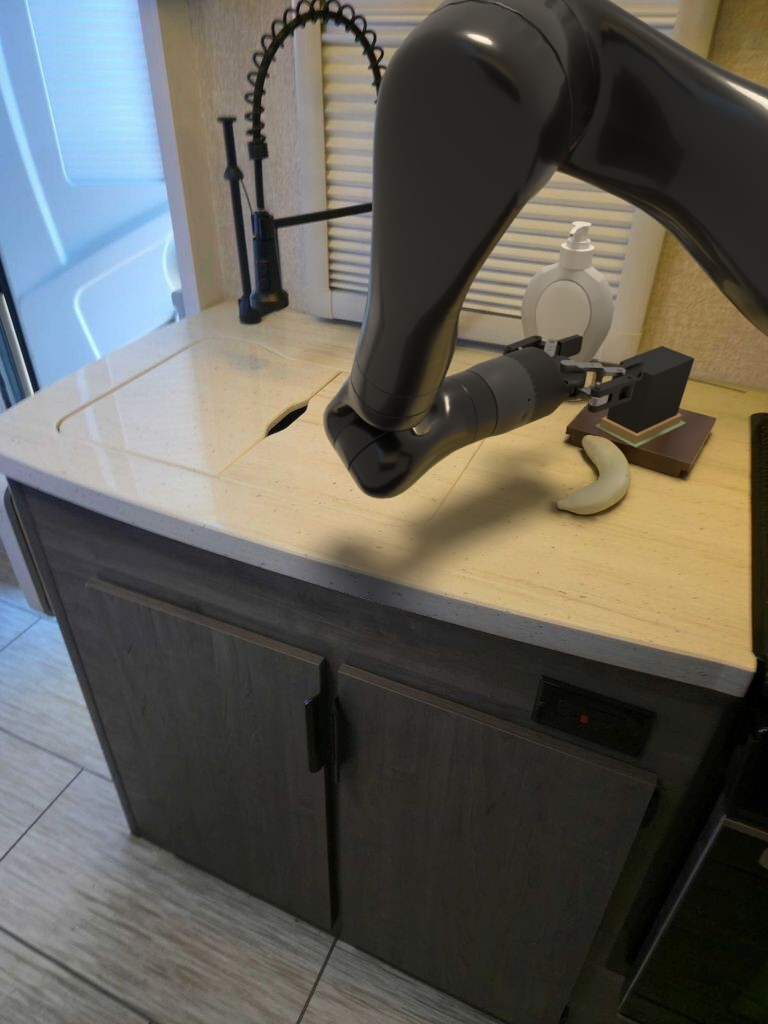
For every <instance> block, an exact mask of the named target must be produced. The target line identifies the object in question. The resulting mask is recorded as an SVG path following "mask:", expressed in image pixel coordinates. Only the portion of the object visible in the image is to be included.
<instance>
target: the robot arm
mask: <svg viewBox="0 0 768 1024" xmlns="http://www.w3.org/2000/svg"><path fill="white" fill-rule="evenodd" d="M373 123H374V124H373V136H372V137H373V138H372V171H371V172H372V173H371V174H372V178H371V179H372V185H371V186H372V188H371V189H372V190H371V191H372V194H371V196H372V197H371V198H372V199H371V208H372V209H371V233H370V234H371V235H370V253H369V254H370V257H369V275H368V285H367V293H366V301H365V309H364V313H363V318H362V323H361V327H360V332H359V336H358V339H357V344H356V348H355V352H354V357H353V361H352V365H351V370H350V374H349V376H348V377H347V379H346V380H344V382H343V384H342V385H341V387H340V388H339V390H338V391H337V392H336V394H335V395H334V396H333V397H332V399H330V401H329V402H328V404H327V405H326V407H324V412H323V416H322V421H323V422H322V424H323V429H324V433H325V436H326V438H327V440H328V442H329V443H330V445H331V447H332V449H333V450H334V451H335V453H336V454H337V456H338V458H339V459H340V461H341V462H342V464H343V465H344V467H345V468H346V470H347V472H348V474H349V475H350V477H351V478H352V480H353V482H354V483H355V484H356V486H357V488H358V489H359V490H360V491H361V492H362V494H364V495H365V496H368V497H370V498H373V499H378V500H379V499H380V500H386V499H387V500H388V499H392V498H395V497H398V496H400V495H402V494H404V493H405V492H406V491H407V490H409V489H410V488H411V487H412V486H414V485H415V484H416V483H417V482H418V481H419V480H420V479H421V478H422V477H424V476H425V474H427V473H428V472H430V470H431V469H433V468H434V467H435V466H436V465H437V464H439V463H441V462H442V461H443V460H445V459H446V458H447V457H449V456H451V455H452V454H453V453H455V452H457V451H458V450H460V449H464V448H465V447H469V446H470V445H474V444H476V443H478V442H481V441H483V440H485V439H489V438H492V437H496V436H497V437H498V436H500V435H501V436H502V435H504V434H506V433H509V432H511V431H514V430H517V429H519V428H522V427H524V426H526V425H529V424H531V423H533V422H536V421H539V420H541V419H544V418H546V417H549V416H550V415H552V414H554V413H555V411H556V410H557V409H558V408H559V407H560V406H561V405H562V404H563V403H564V402H566V401H567V400H576V399H579V398H580V399H582V400H581V401H584V402H586V403H587V404H588V406H587V410H588V411H589V412H592V413H596V412H599V411H602V410H605V409H608V408H610V407H613V406H616V405H619V404H621V403H624V402H627V401H630V400H631V397H632V393H633V389H634V385H635V382H637V381H640V380H641V378H642V374H643V370H644V367H645V366H644V361H642V360H639V359H636V360H633V361H631V362H628V363H625V364H623V365H620V364H619V365H620V366H619V365H618V366H603V365H602V363H601V362H589V363H586V362H575V361H574V360H571V359H569V358H568V357H571V356H574V355H577V354H579V352H580V351H581V346H582V341H583V337H582V336H580V335H573V336H570V337H566V338H563V339H560V340H555V339H548V340H547V342H545V341H542V337H541V336H538V335H534V336H531V337H528V338H526V339H525V338H524V339H521V340H518V341H515V342H513V343H510V344H507V345H504V346H503V351H502V355H499V356H496V357H494V358H491V359H488V360H484V361H481V362H478V363H476V364H474V365H472V366H471V367H469V368H467V369H465V370H462V371H459V372H457V373H453V374H451V375H448V376H447V374H448V371H449V369H450V367H451V364H452V361H453V359H454V354H455V352H456V348H457V344H458V338H459V330H460V329H459V328H460V327H459V326H460V317H461V311H462V308H463V305H464V302H465V300H466V298H467V295H468V293H469V291H470V289H471V286H473V285H472V284H473V283H474V281H475V279H476V277H477V276H478V274H479V273H480V270H481V269H482V267H483V266H484V264H485V263H486V262H487V260H488V258H489V257H490V255H491V254H492V252H493V251H494V250H495V248H496V247H497V245H498V243H500V241H501V239H502V238H503V237H504V235H505V234H506V232H507V231H508V229H510V227H511V225H512V224H513V222H514V221H515V219H516V218H517V217H518V216H519V214H520V213H521V212H522V210H524V208H525V206H526V205H527V204H528V203H529V202H530V201H531V200H533V199H534V198H535V197H536V196H537V195H538V194H539V193H540V192H541V191H542V190H543V189H544V188H545V187H546V186H547V184H548V183H549V182H550V180H551V179H552V178H553V176H554V175H555V173H557V172H558V173H560V174H564V175H566V176H569V177H571V178H574V179H577V180H579V181H581V182H584V183H586V184H588V185H590V186H592V187H594V188H597V189H599V190H601V191H603V192H605V193H608V194H610V195H611V196H614V197H616V198H618V199H620V200H622V201H624V202H626V203H628V204H630V205H632V206H633V207H634V208H636V209H638V210H640V211H641V212H643V213H644V214H646V215H647V216H648V217H650V218H651V219H653V220H654V221H655V222H656V223H657V224H659V225H660V226H661V227H662V228H663V229H665V230H666V231H667V232H668V233H669V234H670V235H671V236H672V237H673V238H674V239H675V240H676V241H677V242H678V244H679V245H680V246H681V247H682V248H683V249H684V250H685V251H686V252H687V254H688V255H689V256H690V258H691V259H692V260H693V261H694V262H695V264H696V265H698V267H699V268H700V270H702V272H703V273H704V274H705V276H707V277H708V279H709V280H710V281H711V282H712V283H713V285H714V286H715V287H716V288H717V289H718V290H719V291H720V293H721V294H722V295H723V296H724V297H725V298H726V299H727V300H728V301H729V302H730V303H731V304H732V305H733V306H734V307H735V309H736V310H737V311H738V312H739V313H740V314H741V315H742V316H743V317H744V318H745V319H746V320H747V321H748V322H749V323H750V324H751V325H752V326H754V328H756V329H757V330H758V331H759V332H761V334H763V335H764V336H766V337H767V338H768V87H766V86H763V85H761V84H759V83H757V82H755V81H752V80H750V79H747V78H745V77H742V76H740V75H738V74H736V73H734V72H732V71H730V70H728V69H727V68H724V67H722V66H720V65H718V64H716V63H714V62H713V61H711V60H710V59H707V58H706V57H704V56H702V55H700V54H698V53H697V52H696V51H693V50H691V48H690V49H689V48H688V47H686V46H685V45H683V44H681V43H679V42H678V41H676V40H675V39H673V38H672V37H670V36H668V35H666V34H665V33H663V32H661V31H660V30H658V29H657V28H655V27H653V26H652V25H650V24H648V23H647V22H645V21H644V20H642V19H640V18H638V17H637V16H635V15H634V14H632V13H631V12H629V11H628V10H626V9H625V8H623V7H621V6H620V5H618V4H616V3H615V2H613V1H611V0H443V1H442V2H441V3H440V4H439V5H438V6H437V7H436V8H435V9H434V10H432V11H431V13H430V14H428V16H426V17H425V18H424V19H423V20H421V22H419V23H418V24H417V25H416V26H415V27H414V28H413V29H412V30H411V31H410V33H408V35H407V36H406V37H405V39H404V40H403V41H402V42H401V43H400V44H399V46H398V47H397V48H396V50H395V51H394V52H393V55H392V56H391V57H390V60H389V62H388V64H387V66H386V68H385V70H384V72H383V75H382V77H381V80H380V83H379V87H378V92H377V98H376V105H375V111H374V122H373ZM588 373H592V377H591V381H590V385H589V386H587V387H586V381H587V376H588ZM604 377H611V379H610V380H607V381H604V382H603V378H604ZM567 402H568V401H567Z"/></svg>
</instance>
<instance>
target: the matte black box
mask: <svg viewBox="0 0 768 1024" xmlns="http://www.w3.org/2000/svg"><path fill="white" fill-rule="evenodd" d="M636 359H639V360H642V361H644V366H645V367H644V370H643V374H642V378H641V380H640V381H637V382H635V385H634V389H633V393H632V397H631V400H630V401H627V402H624V403H621V404H619V405H616V406H613V407H610V408H609V411H608V415H607V416H606V417H604V418H602V419H601V424H600V426H601V427H603V428H605V429H607V430H609V431H611V432H612V433H614V434H616V435H618V436H620V437H622V438H624V439H626V440H628V441H630V442H632V443H634V444H636V443H638V442H640V441H642V440H644V439H646V438H648V437H650V436H652V435H654V434H656V433H659V432H661V431H663V430H665V429H667V428H669V427H671V426H673V425H675V424H677V423H679V422H680V419H681V416H682V415H681V414H679V413H678V410H679V408H681V403H682V400H683V397H684V393H685V391H686V387H687V385H688V381H689V377H690V375H691V373H692V369H693V365H694V362H695V357H692V356H690V355H687V354H684V353H682V352H680V351H676V350H674V349H671V348H669V347H666V346H665V345H659V346H658V347H656V348H655V347H654V348H653V349H650V350H647V351H645V352H642V353H639V354H637V355H634V356H631V357H629V358H626V359H624V360H623V359H622V360H621V361H620V362H619V365H618V366H620V365H623V364H625V363H628V362H631V361H633V360H636Z"/></svg>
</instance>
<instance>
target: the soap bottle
mask: <svg viewBox="0 0 768 1024" xmlns="http://www.w3.org/2000/svg"><path fill="white" fill-rule="evenodd" d="M571 225H572V229H571V231H570V232H569V234H568V236H569V237H567V239H566V242H563V243H561V245H560V249H559V256H558V261H557V262H555V263H552V264H549V265H546V266H543V267H541V268H540V269H539V270H538V271H537V272H536V273H535V274H534V275H533V276H531V279H530V281H529V283H528V285H527V287H526V290H525V291H524V295H523V299H522V302H521V308H520V309H521V310H520V317H521V326H522V331H523V336H524V339H526V338H528V337H531V336H534V335H538V336H541V337H542V341H545V342H547V340H548V339H555V340H560V339H563V338H566V337H570V336H573V335H580V336H582V337H583V341H582V346H581V351H580V352H579V354H577V355H574V356H571V357H568V358H569V359H571V360H574V361H575V362H586V363H591V361H592V360H593V358H594V357H595V356H596V354H597V353H598V352H599V350H600V348H601V346H602V345H603V343H604V342H605V340H606V338H607V336H608V334H609V333H610V330H611V327H612V323H613V318H614V298H613V290H612V287H611V286H610V284H609V282H608V279H607V277H606V276H605V275H604V274H603V273H601V272H600V271H599V270H597V268H595V267H594V266H592V262H593V257H594V252H595V246H594V245H592V244H591V239H590V238H589V237H588V236H589V232H590V231H589V230H590V227H591V226H592V223H591V222H587V221H580V220H579V221H573V222H572V223H571ZM578 401H583V400H582V399H580V398H579V399H576V400H567V402H578Z"/></svg>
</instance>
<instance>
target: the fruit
mask: <svg viewBox="0 0 768 1024" xmlns="http://www.w3.org/2000/svg"><path fill="white" fill-rule="evenodd" d="M582 445H583V447H582V448H583V450H584V452H585V454H586V455H587V457H588V458H589V459H590V460H591V462H592V463H593V464H594V465H595V467H596V468H597V471H598V473H599V475H598V478H597V479H596V480H595V481H594V482H592V483H590V484H588V485H587V486H585V487H583V488H582V489H579V490H577V491H576V492H574V493H571V495H569V496H567V497H566V498H562V499H557V502H556V505H557V509H559V510H565V511H568V512H571V513H574V514H577V515H592V514H596V513H600V512H602V511H604V510H607V509H608V508H610V507H612V506H613V505H615V504H617V503H618V502H619V501H621V500H622V498H623V497H624V496H625V495H626V493H627V492H628V490H629V487H630V485H631V479H632V478H631V476H632V474H631V467H630V464H629V462H628V461H627V459H626V457H625V456H624V454H623V453H622V452H621V450H620V449H619V448H618V447H617V446H616V445H615V444H613V443H612V442H611V441H610V440H608V439H606V438H603V437H599V436H592V435H587V436H584V437H583V439H582Z"/></svg>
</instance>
